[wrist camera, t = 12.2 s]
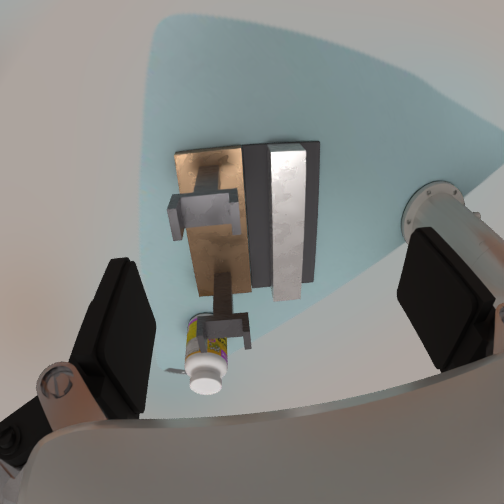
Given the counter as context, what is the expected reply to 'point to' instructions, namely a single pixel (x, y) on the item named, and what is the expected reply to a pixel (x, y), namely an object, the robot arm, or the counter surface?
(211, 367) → the supplement bottle
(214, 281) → the rail stand
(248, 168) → the mat
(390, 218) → the counter surface
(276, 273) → the rail
